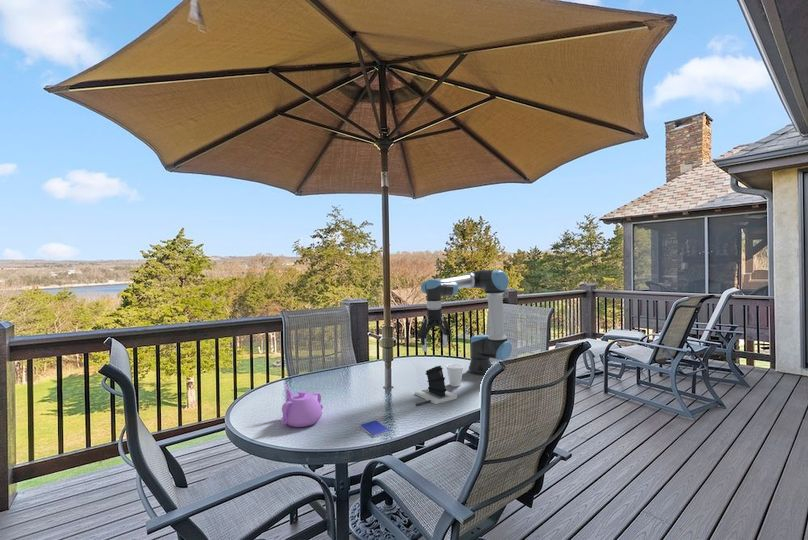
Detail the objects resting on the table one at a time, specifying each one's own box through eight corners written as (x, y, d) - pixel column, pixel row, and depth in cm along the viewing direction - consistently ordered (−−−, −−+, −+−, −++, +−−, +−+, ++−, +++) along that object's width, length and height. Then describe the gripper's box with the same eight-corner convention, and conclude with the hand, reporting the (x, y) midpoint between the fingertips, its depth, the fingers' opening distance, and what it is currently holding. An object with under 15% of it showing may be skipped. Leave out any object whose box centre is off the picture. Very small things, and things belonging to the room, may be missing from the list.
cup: (463, 382, 229) (463, 363, 229) (464, 388, 219) (464, 368, 219) (446, 382, 230) (446, 363, 230) (446, 387, 220) (446, 368, 220)
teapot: (305, 407, 195) (304, 380, 194) (334, 418, 181) (333, 388, 181) (264, 422, 178) (263, 392, 177) (293, 435, 164) (292, 402, 164)
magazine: (444, 395, 198) (436, 366, 203) (430, 400, 208) (423, 371, 213) (450, 394, 200) (441, 365, 205) (436, 398, 210) (428, 370, 215)
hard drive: (391, 429, 165) (376, 420, 176) (373, 434, 161) (360, 424, 171) (391, 433, 166) (376, 423, 176) (373, 438, 161) (360, 428, 171)
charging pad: (435, 389, 219) (435, 386, 219) (457, 398, 203) (456, 395, 203) (400, 397, 206) (400, 394, 206) (420, 408, 191) (420, 405, 191)
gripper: (448, 305, 216) (449, 344, 216) (410, 310, 202) (411, 351, 203) (457, 307, 209) (458, 346, 210) (418, 311, 196) (419, 354, 197)
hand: (435, 349), depth 207 cm, fingers open, 13 cm apart
